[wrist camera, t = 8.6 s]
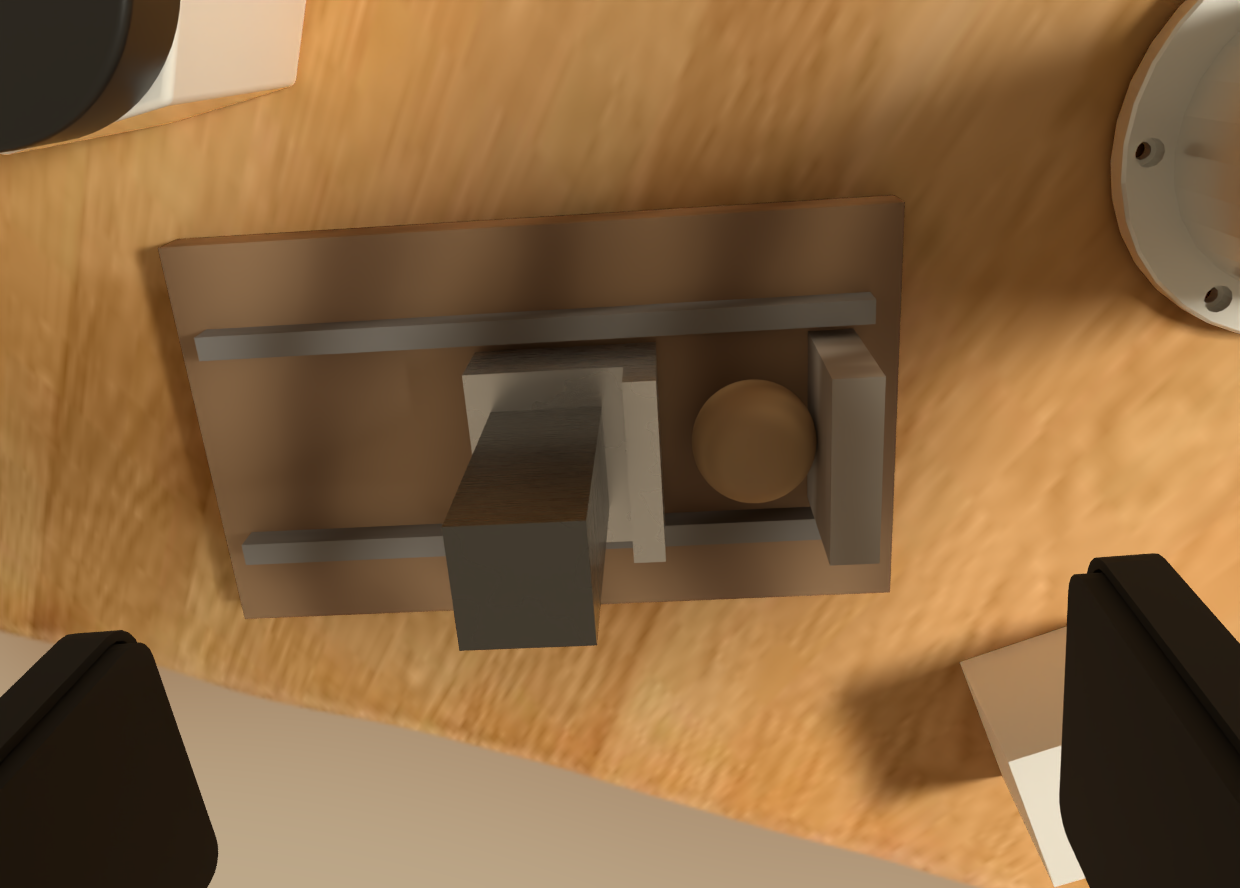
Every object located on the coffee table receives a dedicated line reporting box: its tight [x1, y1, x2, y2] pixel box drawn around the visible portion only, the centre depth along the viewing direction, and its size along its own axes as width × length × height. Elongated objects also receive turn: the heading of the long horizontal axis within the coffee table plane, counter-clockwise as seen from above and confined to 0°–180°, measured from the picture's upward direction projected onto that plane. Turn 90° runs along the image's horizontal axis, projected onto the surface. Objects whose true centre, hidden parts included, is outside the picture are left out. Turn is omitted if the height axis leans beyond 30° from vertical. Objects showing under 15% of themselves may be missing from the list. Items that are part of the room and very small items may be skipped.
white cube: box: [960, 626, 1085, 887], centre depth 38 cm, size 6×6×6 cm
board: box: [158, 195, 905, 619], centre depth 34 cm, size 24×14×6 cm, turn 94°
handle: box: [442, 342, 666, 651], centre depth 30 cm, size 6×6×10 cm
